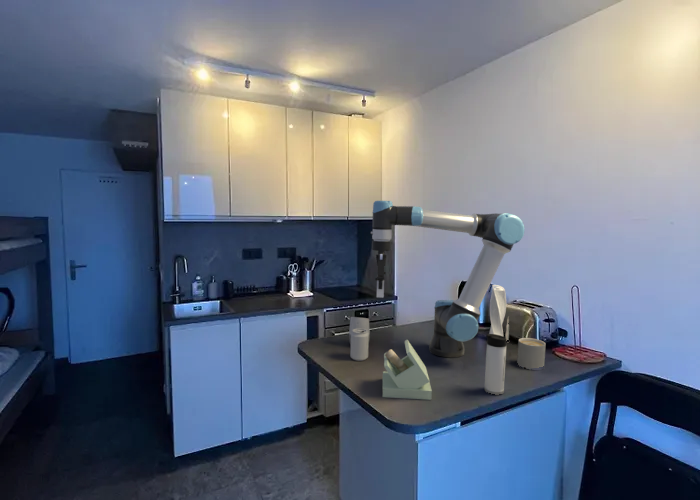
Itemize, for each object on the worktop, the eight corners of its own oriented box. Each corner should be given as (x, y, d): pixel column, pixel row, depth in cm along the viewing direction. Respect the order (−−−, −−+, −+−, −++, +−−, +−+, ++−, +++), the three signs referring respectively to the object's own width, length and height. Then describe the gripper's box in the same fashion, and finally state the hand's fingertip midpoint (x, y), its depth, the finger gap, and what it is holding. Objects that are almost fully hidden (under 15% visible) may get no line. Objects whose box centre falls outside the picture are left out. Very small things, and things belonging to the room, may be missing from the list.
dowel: (415, 373, 138) (391, 348, 138) (415, 376, 135) (391, 350, 135) (408, 378, 138) (384, 353, 139) (408, 382, 135) (384, 357, 135)
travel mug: (480, 387, 140) (483, 332, 138) (498, 387, 140) (501, 332, 138) (488, 395, 133) (491, 338, 131) (506, 395, 134) (510, 337, 132)
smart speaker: (371, 343, 185) (371, 313, 183) (367, 349, 176) (367, 318, 174) (351, 341, 187) (352, 312, 186) (346, 347, 178) (347, 317, 177)
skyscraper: (497, 345, 186) (500, 286, 184) (483, 340, 193) (486, 283, 191) (509, 342, 190) (512, 285, 188) (495, 337, 198) (499, 282, 195)
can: (366, 362, 161) (367, 333, 160) (348, 360, 162) (349, 332, 161) (369, 355, 168) (370, 328, 167) (352, 354, 170) (352, 326, 169)
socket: (426, 381, 143) (428, 339, 142) (431, 399, 130) (433, 353, 128) (382, 379, 145) (383, 337, 143) (382, 397, 131) (383, 351, 129)
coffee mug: (535, 372, 154) (536, 347, 153) (512, 364, 162) (513, 340, 161) (553, 365, 161) (555, 341, 160) (530, 358, 170) (532, 335, 169)
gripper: (372, 238, 168) (371, 287, 170) (371, 242, 143) (369, 300, 145) (390, 238, 167) (389, 287, 169) (392, 242, 142) (390, 300, 144)
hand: (380, 293), depth 157 cm, fingers open, 13 cm apart
